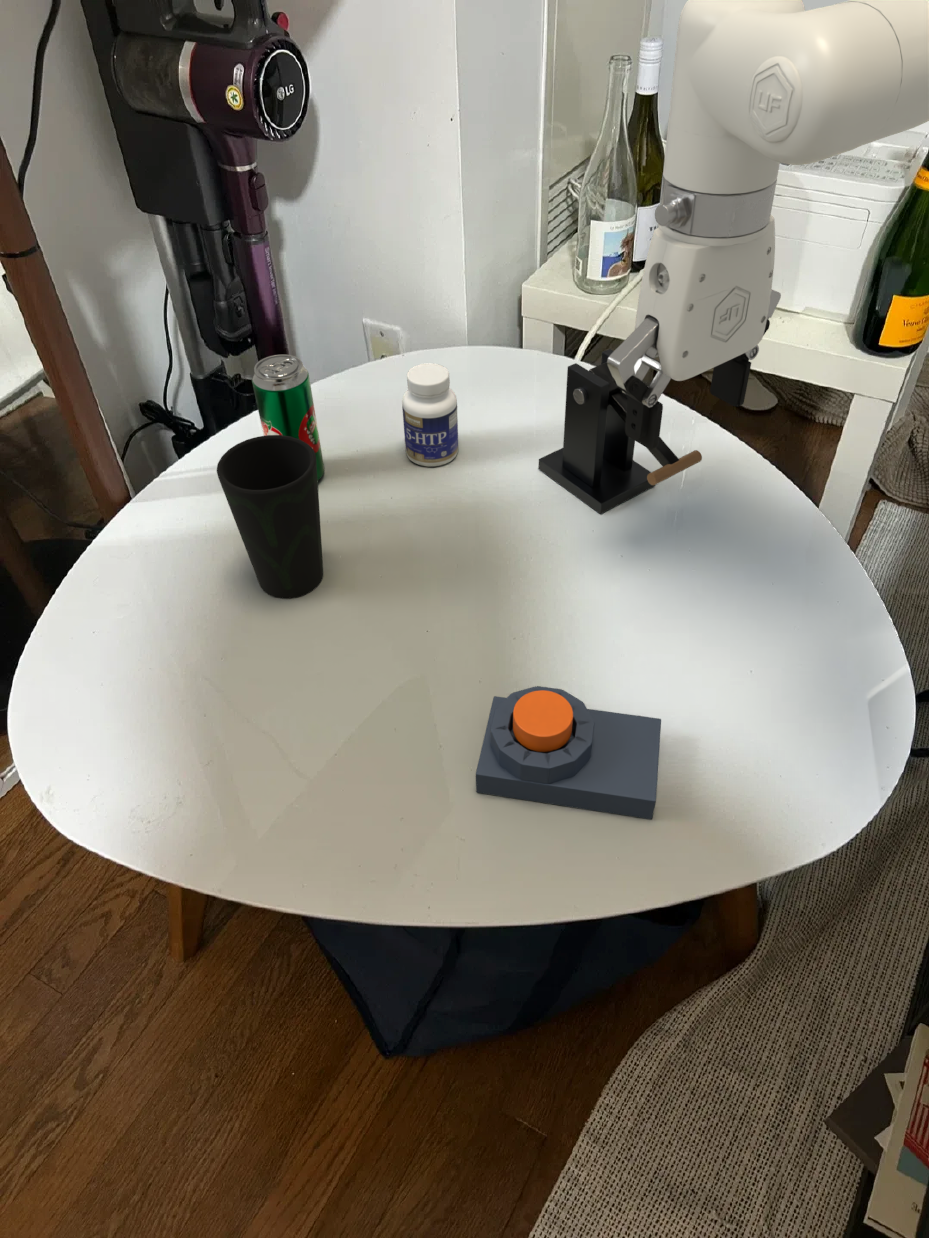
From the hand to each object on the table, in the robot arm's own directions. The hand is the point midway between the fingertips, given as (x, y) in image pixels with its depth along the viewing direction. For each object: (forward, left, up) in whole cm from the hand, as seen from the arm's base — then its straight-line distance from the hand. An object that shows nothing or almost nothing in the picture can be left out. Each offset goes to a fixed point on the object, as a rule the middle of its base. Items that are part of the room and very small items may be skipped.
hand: (684, 420), depth 75 cm
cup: (+32, +12, -11) cm, 36 cm away
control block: (+6, +28, -11) cm, 30 cm away
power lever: (+4, -4, -4) cm, 7 cm away
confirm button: (+8, +28, -8) cm, 30 cm away
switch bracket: (+7, -6, -11) cm, 15 cm away
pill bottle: (+24, -8, -12) cm, 27 cm away
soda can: (+36, -2, -12) cm, 37 cm away
